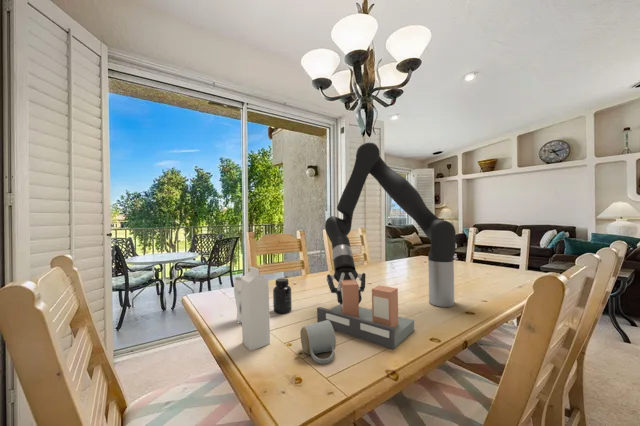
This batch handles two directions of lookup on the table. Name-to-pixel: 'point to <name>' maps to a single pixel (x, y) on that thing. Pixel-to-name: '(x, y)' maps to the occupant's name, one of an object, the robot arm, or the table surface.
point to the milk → (255, 310)
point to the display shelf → (366, 326)
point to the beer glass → (238, 298)
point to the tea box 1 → (350, 298)
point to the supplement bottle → (282, 297)
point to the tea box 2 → (385, 305)
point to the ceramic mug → (318, 340)
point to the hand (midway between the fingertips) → (350, 302)
